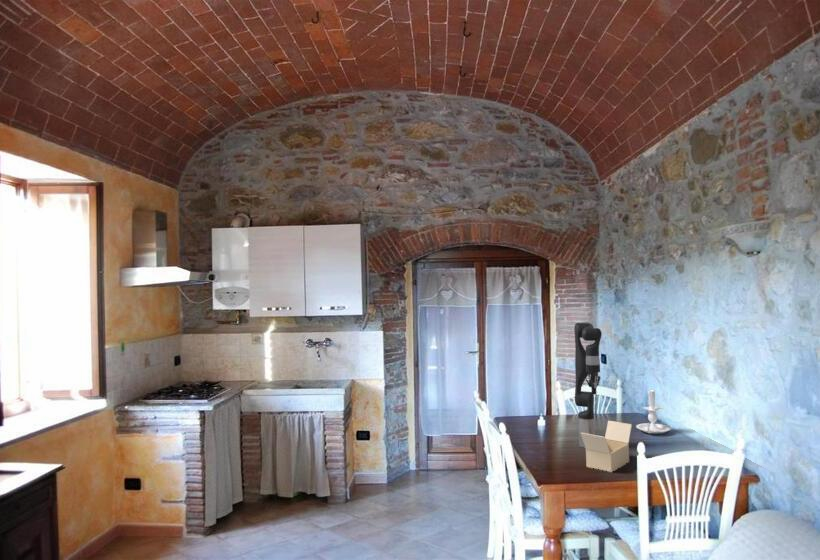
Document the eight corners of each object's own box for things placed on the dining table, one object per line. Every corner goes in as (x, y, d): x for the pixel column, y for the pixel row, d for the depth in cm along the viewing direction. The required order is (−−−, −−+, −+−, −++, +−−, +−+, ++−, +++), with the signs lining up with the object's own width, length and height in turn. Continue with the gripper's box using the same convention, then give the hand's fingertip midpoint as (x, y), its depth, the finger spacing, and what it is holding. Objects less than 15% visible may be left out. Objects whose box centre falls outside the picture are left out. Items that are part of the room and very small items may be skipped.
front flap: (580, 432, 281) (580, 433, 281) (605, 436, 271) (604, 437, 271) (586, 447, 285) (585, 448, 284) (610, 453, 275) (609, 453, 275)
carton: (604, 456, 300) (604, 439, 300) (629, 461, 290) (628, 443, 290) (586, 466, 285) (585, 448, 285) (611, 472, 275) (610, 453, 275)
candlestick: (631, 435, 339) (629, 392, 340) (640, 426, 359) (638, 385, 360) (665, 440, 327) (663, 395, 327) (673, 430, 347) (671, 388, 347)
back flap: (604, 438, 300) (604, 439, 300) (628, 443, 290) (628, 443, 290) (608, 420, 304) (608, 420, 304) (631, 424, 294) (632, 424, 294)
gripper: (592, 361, 303) (593, 391, 303) (580, 364, 294) (582, 395, 294) (604, 362, 298) (605, 393, 298) (593, 365, 289) (594, 397, 288)
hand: (594, 394), depth 296 cm, fingers closed
